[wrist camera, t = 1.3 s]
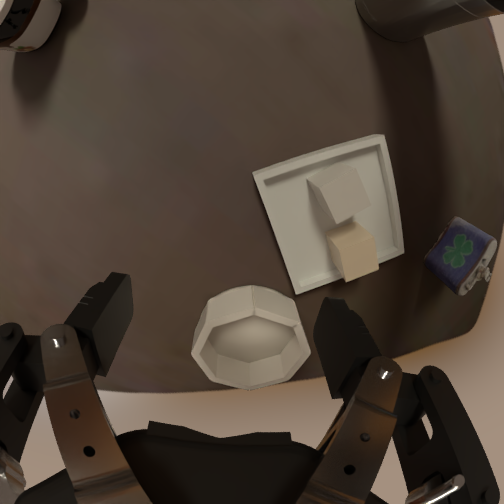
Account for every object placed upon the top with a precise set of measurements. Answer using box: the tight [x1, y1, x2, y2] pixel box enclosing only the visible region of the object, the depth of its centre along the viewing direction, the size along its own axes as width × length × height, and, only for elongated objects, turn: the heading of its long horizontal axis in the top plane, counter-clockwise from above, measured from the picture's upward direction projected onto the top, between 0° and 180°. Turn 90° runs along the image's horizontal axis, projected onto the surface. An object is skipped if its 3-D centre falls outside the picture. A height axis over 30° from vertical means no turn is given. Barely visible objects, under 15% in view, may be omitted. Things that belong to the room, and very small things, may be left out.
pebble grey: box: [306, 162, 371, 224], centre depth 26 cm, size 4×4×5 cm
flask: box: [423, 216, 497, 296], centre depth 29 cm, size 9×3×11 cm, turn 146°
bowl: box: [191, 285, 311, 390], centre depth 35 cm, size 14×14×5 cm
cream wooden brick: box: [325, 221, 379, 282], centre depth 29 cm, size 4×4×5 cm
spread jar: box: [0, 0, 62, 52], centre depth 12 cm, size 12×11×12 cm
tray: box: [252, 134, 404, 295], centre depth 30 cm, size 15×15×2 cm
